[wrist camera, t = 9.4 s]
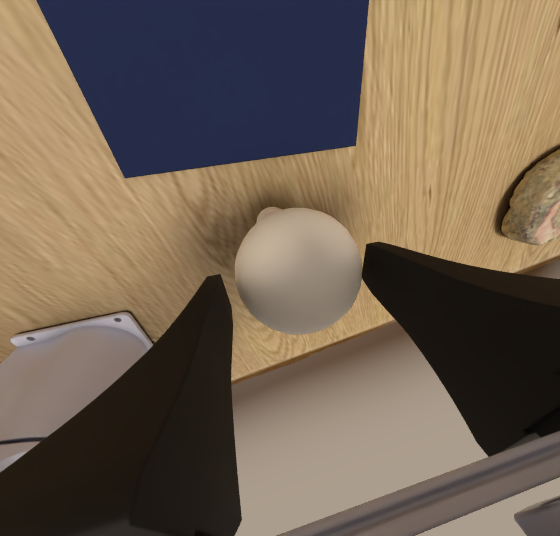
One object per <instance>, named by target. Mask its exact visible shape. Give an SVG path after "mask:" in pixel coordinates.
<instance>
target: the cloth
mask: <svg viewBox="0 0 560 536" xmlns="http://www.w3.org/2000/svg"><path fill="white" fill-rule="evenodd" d="M37 2H38V4H39V6H40V8H41V10H42V12H43V14H44V16H45V18H46V20H47V23H48V25H49V27H50V29H51V31H52V33H53V35H54V37H55V39H56V41H57V43H58V45H59V47H60V49H61V51H62V53H63V55H64V57H65V59H66V61H67V63H68V65H69V67H70V69H71V71H72V73H73V75H74V77H75V79H76V81H77V83H78V85H79V87H80V89H81V91H82V93H83V95H84V97H85V99H86V101H87V103H88V105H89V107H90V109H91V111H92V113H93V115H94V117H95V119H96V121H97V123H98V125H99V127H100V129H101V131H102V133H103V135H104V137H105V139H106V141H107V143H108V145H109V147H110V149H111V151H112V153H113V155H114V157H115V159H116V161H117V163H118V165H119V167H120V169H121V171H122V173H123V175H124V177H125V178H130V177H137V176H144V175H151V174H158V173H165V172H172V171H179V170H187V169H194V168H201V167H208V166H215V165H222V164H229V163H236V162H243V161H251V160H258V159H265V158H272V157H279V156H286V155H293V154H300V153H307V152H314V151H322V150H329V149H336V148H343V147H350V146H356V138H357V127H358V116H359V105H360V94H361V83H362V72H363V60H364V49H365V38H366V27H367V16H368V5H369V0H37Z"/></svg>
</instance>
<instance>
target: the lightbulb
mask: <svg viewBox="0 0 560 536" xmlns="http://www.w3.org/2000/svg"><path fill="white" fill-rule="evenodd" d="M361 279H362V260H361V256H360V253H359V250H358V248H357V245H356V242H355V241H354V239H353V238H352V236H351V235H350V233H349V232H348V231H347V229H346V228H345V227H344V226H343V225H342V224H341V223H339V222H338V221H337V220H336V219H334V218H333V217H332V216H329V215H327V214H325V213H323V212H321V211H317V210H312V209H308V208H288V209H283V210H281V209H280V208H277V207H268V208H265V209H264V210H262V211H261V212H260V213H259V215H258V217H257V221H256V224H255V225H254V226H253V227H252V228H251V229H250V230H249V232H248V233H247V235H246V236H245V238H244V239H243V241H242V244H241V246H240V248H239V251H238V253H237V256H236V262H235V281H236V286H237V289H238V292H239V295H240V297H241V299H242V301H243V303H244V304H245V306H246V307H247V309H248V310H249V312H250V313H251V314H252V315H253V316H254V317H255V318H256V319H257V320H259V321H260V322H262V323H263V324H265V325H266V326H268V327H270V328H271V329H274V330H277V331H280V332H283V333H287V334H293V335H302V334H309V333H313V332H317V331H320V330H323V329H325V328H327V327H329V326H331V325H333V324H334V323H335V322H337V321H338V320H340V319H341V318H342V317H343V316H344V315H345V314H346V313H347V312H348V311H349V309H350V308H351V307H352V305H353V303H354V302H355V300H356V297H357V294H358V292H359V289H360V286H361Z"/></svg>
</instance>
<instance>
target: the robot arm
mask: <svg viewBox="0 0 560 536" xmlns="http://www.w3.org/2000/svg"><path fill="white" fill-rule="evenodd" d="M362 279H363V281H364V282H365V284H366V285H367V287H368V288H369V290H370V291H371V293H372V294H373V295H374V296H375V297H376V298H377V300H378V301H379V302H380V303H381V304H382V305H383V306H384V307H385V309H386V310H387V311H388V312H389V313H390V314H391V315H392V316H393V317H394V319H395V320H396V321H397V322H398V323H399V324H400V325H401V326H402V327H403V328H404V330H405V331H406V332H407V333H408V334H409V336H410V337H411V339H412V340H413V341H414V343H415V344H416V345H417V347H418V348H419V350H420V351H421V352H422V354H423V355H424V356H425V358H426V360H427V361H428V362H429V364H430V365H431V367H432V368H433V370H434V371H435V372H436V374H437V376H438V377H439V379H440V381H441V382H442V384H443V385H444V387H445V388H446V390H447V391H448V393H449V395H450V396H451V398H452V399H453V401H454V403H455V404H456V406H457V408H458V410H459V412H460V413H461V415H462V417H463V418H464V420H465V422H466V424H467V425H468V427H469V429H470V431H471V433H472V434H473V436H474V438H475V440H476V442H477V443H478V444H479V445H480V447H481V448H482V449H483V450H484V452H485V453H486V454H487V455H488V456H489V457H488V458H485V459H482V460H479V461H477V462H474V463H471V464H469V465H466V466H463V467H461V468H458V469H455V470H452V471H450V472H447V473H444V474H442V475H439V476H437V477H434V478H431V479H428V480H426V481H423V482H420V483H417V484H415V485H412V486H409V487H407V488H404V489H401V490H398V491H396V492H393V493H391V494H388V495H385V496H382V497H380V498H377V499H374V500H372V501H369V502H366V503H363V504H361V505H358V506H355V507H353V508H350V509H347V510H345V511H342V512H339V513H336V514H334V515H331V516H328V517H326V518H323V519H320V520H318V521H315V522H312V523H309V524H307V525H304V526H301V527H299V528H296V529H293V530H291V531H288V532H285V533H282V534H280V535H277V536H415V535H417V534H420V533H422V532H425V531H427V530H430V529H432V528H435V527H437V526H440V525H442V524H445V523H447V522H450V521H452V520H455V519H457V518H460V517H462V516H465V515H467V514H469V513H472V512H474V511H477V510H479V509H482V508H484V507H487V506H489V505H492V504H494V503H497V502H499V501H501V500H504V499H507V498H509V497H511V496H514V495H516V494H519V493H521V492H524V491H526V490H529V489H531V488H534V487H536V486H539V485H541V484H544V483H546V482H549V481H551V480H553V479H556V478H559V477H560V279H553V278H544V277H536V276H529V275H522V274H515V273H508V272H502V271H496V270H490V269H485V268H480V267H475V266H470V265H465V264H461V263H456V262H452V261H448V260H444V259H440V258H437V257H433V256H429V255H426V254H422V253H419V252H415V251H412V250H408V249H405V248H401V247H398V246H394V245H391V244H386V243H382V242H374V243H369V244H366V250H365V257H364V263H363V270H362ZM118 318H120V319H118ZM232 340H233V319H232V308H231V304H230V301H229V298H228V295H227V292H226V289H225V286H224V283H223V280H222V277H221V274H218V275H213V276H208V277H207V278H206V279H205V280H204V282H203V283H202V285H201V286H200V287H199V289H198V290H197V292H196V293H195V295H194V296H193V298H192V299H191V300H190V302H189V303H188V304H187V306H186V307H185V309H184V310H183V311H182V312H181V314H180V315H179V316H178V317H177V319H176V320H175V321H174V322H173V324H172V325H171V326H170V327H169V328H168V330H167V331H166V332H165V333H164V334H163V335H162V336H161V337H160V339H159V340H158V341H157V342H156V343H155V344H154V345H153V344H152V342H151V341H150V340H149V338H148V337H147V335H146V334H145V333H144V331H143V330H142V329H141V327H140V326H139V325H138V323H137V322H136V321H135V319H134V318H133V317H132V315H131V314H130V313H128V312H121V313H116V314H111V315H107V316H102V317H97V318H93V319H88V320H83V321H79V322H74V323H69V324H64V325H60V326H55V327H50V328H46V329H41V330H36V331H32V332H27V333H22V334H18V335H14V336H13V337H12V338H11V339H10V342H11V343H12V344H14V345H15V346H16V347H17V348H16V349H15V350H14V351H13V352H12V353H11V354H10V355H9V356H8V357H7V358H6V359H5V360H4V361H3V362H2V363H1V364H0V536H234V535H235V533H236V532H237V529H238V527H239V525H240V522H241V520H242V517H241V507H240V496H239V485H238V476H237V463H236V452H235V438H234V424H233V409H232V392H231V391H232V390H231V363H232ZM514 518H515V521H516V522H517V523H518V524H519V526H520V527H521V528H522V530H523V531H524V533H525V534H526V535H527V536H560V496H557V497H554V498H551V499H548V500H545V501H542V502H539V503H536V504H534V505H531V506H529V507H527V508H525V509H523V510H521V511H519V512H517V513H516V514H514Z"/></svg>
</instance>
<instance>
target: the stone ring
mask: <svg viewBox="0 0 560 536" xmlns="http://www.w3.org/2000/svg"><path fill="white" fill-rule="evenodd" d="M513 193H514V194H513V196H512V198H511V199H510V204H509V205H510V206H511V207H510V209H509V210H508V212H507V214H506V215H505V217H504V219H503V222H502V228H501V230H502V232H503V233H504V234H505V235H506V236H507V237H508V238H510V239H512V240H515V241H519V242H523V243H527V244H532V245H542V244H545V243H547V242H550V241H554V240H557V239H558V238H560V149H558V150H557V151H556V152H553V153H552V154H550V155H549V156H547V157H546V158H544V159H542V160H541V161H539V162H538V163H537V164H536V165H535V166H534V167H533V168H532V169H531V170H530V171H528V172H526V174H525V176H524V178H523V179H522V180H521V182H520V183H519V184H518V186H517V187H516V188H515V190H514V192H513Z"/></svg>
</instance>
